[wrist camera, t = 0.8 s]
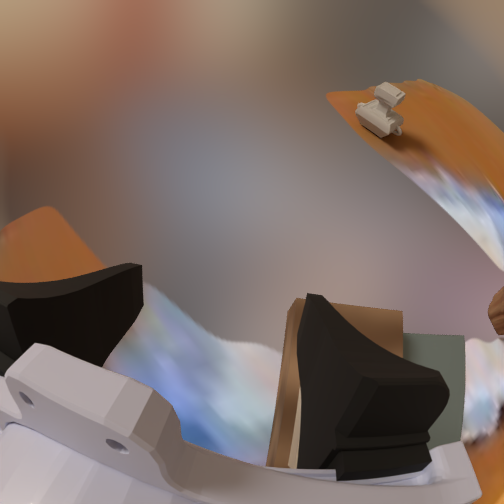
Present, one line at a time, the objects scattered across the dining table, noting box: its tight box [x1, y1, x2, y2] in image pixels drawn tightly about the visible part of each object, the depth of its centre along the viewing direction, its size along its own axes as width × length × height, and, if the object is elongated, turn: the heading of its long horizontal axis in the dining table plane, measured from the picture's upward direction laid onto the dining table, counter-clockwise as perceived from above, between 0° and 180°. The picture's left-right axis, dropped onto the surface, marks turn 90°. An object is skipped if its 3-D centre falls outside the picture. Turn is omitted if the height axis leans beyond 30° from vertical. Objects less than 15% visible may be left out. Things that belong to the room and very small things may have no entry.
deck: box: [266, 298, 403, 468], centre depth 20 cm, size 18×10×4 cm, turn 172°
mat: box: [403, 333, 465, 450], centre depth 22 cm, size 16×12×1 cm
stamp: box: [355, 82, 405, 138], centre depth 38 cm, size 9×7×8 cm
